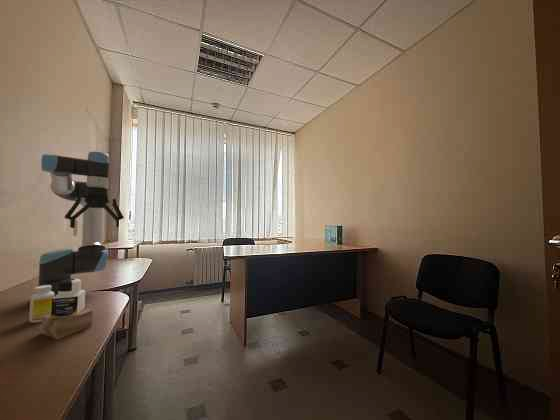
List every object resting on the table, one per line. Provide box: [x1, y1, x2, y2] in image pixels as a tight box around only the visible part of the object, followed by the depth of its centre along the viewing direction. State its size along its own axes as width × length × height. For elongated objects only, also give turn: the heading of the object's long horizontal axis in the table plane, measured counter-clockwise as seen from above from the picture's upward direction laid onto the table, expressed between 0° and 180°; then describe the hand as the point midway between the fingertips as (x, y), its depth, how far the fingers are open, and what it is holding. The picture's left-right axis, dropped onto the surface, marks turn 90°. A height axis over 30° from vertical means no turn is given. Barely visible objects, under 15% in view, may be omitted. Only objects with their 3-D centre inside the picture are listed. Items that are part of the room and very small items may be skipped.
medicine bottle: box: [51, 278, 86, 318], centre depth 82 cm, size 7×7×12 cm
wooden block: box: [40, 308, 93, 340], centre depth 82 cm, size 10×10×6 cm
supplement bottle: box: [28, 285, 54, 324], centre depth 89 cm, size 7×7×13 cm
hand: (95, 235), depth 100 cm, fingers open, 13 cm apart
